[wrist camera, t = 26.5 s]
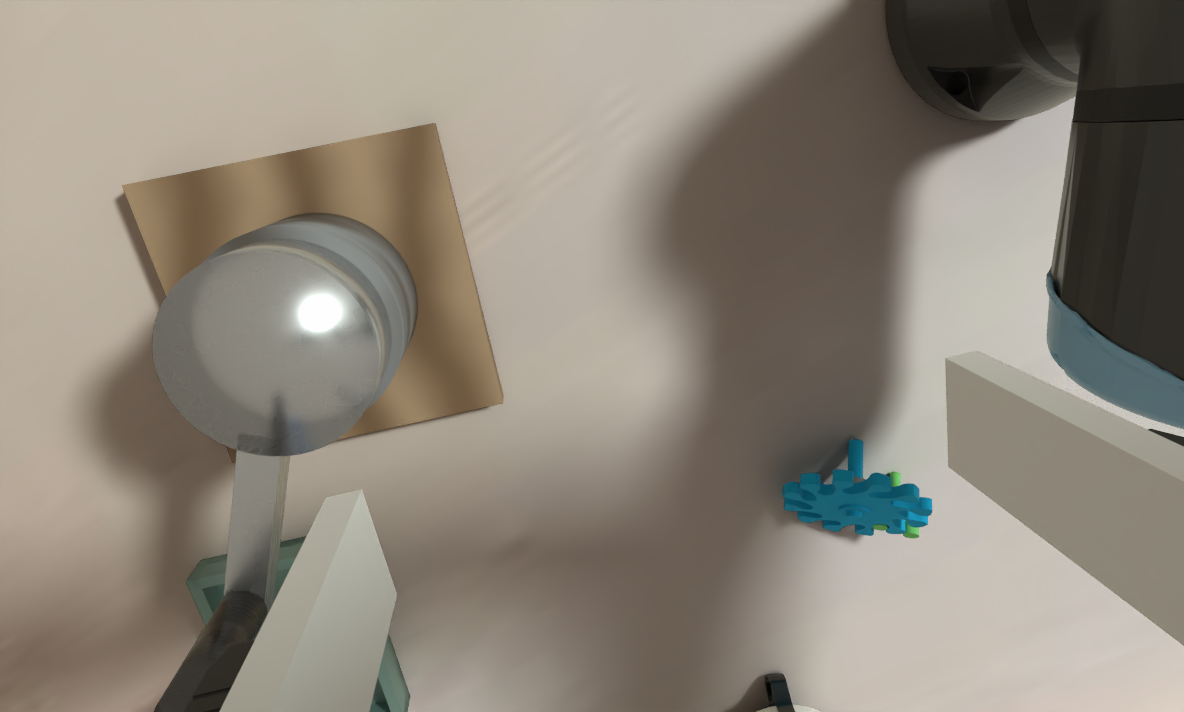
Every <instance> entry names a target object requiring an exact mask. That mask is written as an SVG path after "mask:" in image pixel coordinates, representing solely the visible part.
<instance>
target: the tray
mask: <svg viewBox="0 0 1184 712" xmlns="http://www.w3.org/2000/svg"><path fill="white" fill-rule="evenodd" d="M306 537H307V536H305V537H301V538H297V539H292V540H288V541H283V542H280V551H279V560H278V568H277V577H276V586H275V595H274V601H275V599H276V597H277V595H278V593H279V591H280V589H281V587H282V585H283V583H284V581H285V579H286V577H287V575H288V573H289V571H290V569H291V567H292V565H293V563H294V561H295V559H296V557H297V555H298V553H299V551H300V549H301V547H302V545H303V543H304V541H305V539H306ZM226 565H227V554H226V555H222V556H217V557H213V558H209V559H204V560H201V561H200V562H199V564H198V565H197V567H196V568H195V569H194V571H193V572H192V574H191V575H190V576H189V578H188V579H187V581H186V584H187V586H188V588H189V590H190V593H191V595H192V597H193V599H194V602H195V604H196V606H197V608H198V610H199V613H200V615H201V617H202V619H203V621H204V624H205V626H206V624H207V623H208V621H209V619H210V618H211V616H212V614H213V613H214V611H215V610H216V608H217V606H218V605H219V603H220V601H221V600H222V599H223V598H224V587H225V576H226ZM409 700H410V694H409V691H408V688H407V686H406V683H405V680H404V677H403V674H402V671H401V668H400V666H399V663H398V660H397V657H396V654H395V651H394V648H393V645H392V643H391V640H390V637H389V634H388V636H387V640H386V644H385V648H384V653H383V657H382V661H381V665H380V669H379V674H378V678H377V682H376V686H375V690H374V694H373V699H372V703H371V707H370V711H369V712H408V706H409Z"/></svg>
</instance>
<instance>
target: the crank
mask: <svg viewBox="0 0 1184 712" xmlns="http://www.w3.org/2000/svg"><path fill="white" fill-rule="evenodd" d="M391 344H392V336H391V326H390V321H389V316H388V313H387V311H386V308H385V305H384V303H383V301H382V299H381V297H380V295H379V293H378V292H377V290H376V289H375V287H374V286H373V284H372V283H371V282H370V280H369V279H368V278H367V277H366V276H365V275H364V273H363V272H361V271H360V270H359V269H358V268H357V267H356V266H355V265H354V264H353V263H351V262H350V261H348V260H347V259H345V258H344V257H343V256H341V255H339V254H337V253H335V252H334V251H332V250H330V249H327V248H325V247H322V246H320V245H317V244H314V243H310V242H306V241H302V240H294V239H269V240H262V241H258V242H254V243H250V244H247V245H245V246H242V247H240V248H237V249H235V250H233V251H230V252H228V253H226V254H223V255H221V256H219V257H216V258H214V259H212V260H210V261H207V262H205V263H203V264H201V265H200V266H198V267H196V268H194V269H193V270H191V271H190V272H189V273H187V274H186V275H185V276H184V277H182V278H181V279H180V280H179V281H178V282H177V283H176V284H175V285H174V287H173V288H172V289H171V290H170V291H169V293H168V294H167V296H166V297H165V299H164V300H163V302H162V305H161V307H160V309H159V311H158V313H157V317H156V320H155V324H154V329H153V337H152V352H153V359H154V365H155V369H156V372H157V375H158V378H159V381H160V383H161V385H162V387H163V389H164V391H165V393H166V395H167V396H168V398H169V399H170V401H171V403H172V404H173V405H174V407H175V408H176V409H177V410H178V411H179V413H180V414H181V415H182V416H183V417H184V418H185V419H186V420H187V421H188V422H189V423H190V424H191V425H192V426H194V427H195V428H196V429H198V430H199V431H200V432H202V433H203V434H204V435H206V436H208V437H209V438H211V439H213V440H215V441H216V442H218V443H221V444H223V445H225V446H227V447H230V448H232V449H235V450H237V453H236V464H235V475H234V486H233V498H232V509H231V520H230V531H229V542H228V553H227V565H226V576H225V587H224V598H223V599H222V600H221V601H220V603H219V605H218V606H217V608H216V610H215V611H214V613H213V614H212V616H211V618H210V619H209V621H208V623H207V624H206V626H205V628H204V629H203V631H202V632H201V634H200V636H199V637H198V639H197V641H196V642H195V644H194V646H193V647H192V649H191V650H190V652H189V654H188V655H187V657H186V659H185V660H184V662H183V663H182V665H181V667H180V668H179V670H178V672H177V673H176V675H175V677H174V678H173V680H172V681H171V683H170V685H169V686H168V688H167V690H166V691H165V693H164V695H163V696H162V698H161V699H160V701H159V703H158V704H157V706H156V708H155V710H154V712H184V710H185V708H186V707H187V705H188V703H189V701H192V700H193V694H194V692H195V691H196V689H197V687H198V685H199V683H200V682H201V680H202V678H203V676H204V674H205V673H206V671H207V670H208V669H209V668H210V667H211V666H212V665H213V664H214V663H215V662H216V661H217V660H218V658H219V657H220V656H221V655H222V654H223V653H224V652H225V651H226V650H227V649H228V648H229V647H230V646H232V645H236V644H240V643H245V642H249V641H253V640H255V639H256V637H257V635H258V633H259V631H260V629H261V627H262V625H263V623H264V621H265V619H266V617H267V615H268V613H269V611H270V609H271V607H272V605H273V603H274V595H275V586H276V577H277V568H278V560H279V551H280V542H281V533H282V524H283V515H284V506H285V498H286V489H287V480H288V471H289V462H290V455H297V454H302V453H306V452H310V451H314V450H316V449H319V448H321V447H324V446H326V445H328V444H330V443H331V442H333V441H335V440H337V439H338V438H339V437H341V436H342V435H343V434H345V433H346V432H347V431H348V430H349V429H351V428H352V427H353V426H354V425H355V424H356V423H357V421H358V420H359V419H360V417H361V416H362V415H363V413H364V412H365V410H366V408H367V407H368V405H369V403H370V401H371V399H372V397H373V395H374V393H375V391H376V389H377V387H378V386H379V384H380V382H381V380H382V378H383V376H384V374H385V371H386V368H387V366H388V363H389V358H390V354H391Z"/></svg>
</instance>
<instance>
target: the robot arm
mask: <svg viewBox="0 0 1184 712" xmlns="http://www.w3.org/2000/svg"><path fill="white" fill-rule="evenodd" d="M886 18H887V28H888V35H889V39H890V44H891V47H892V51H893V54H894V56H895V59H896V62H897V64H898V66H899V68H900V70H901V72H902V73H903V75H904V77H905V78H906V80H907V81H908V83H909V84H910V85H911V87H912V88H913V89H914V90H915V91H916V92H917V93H918V95H919V96H920V97H922V98H923V99H924V100H925V101H926V102H928V103H929V104H930V105H932V106H933V107H935V108H936V109H938V110H940V111H942V112H944V113H946V114H949V115H951V116H954V117H958V118H961V119H967V120H975V121H995V120H1013V119H1019V118H1024V117H1028V116H1032V115H1035V114H1038V113H1041V112H1044V111H1046V110H1049V109H1051V108H1053V107H1055V106H1057V105H1059V104H1061V103H1063V102H1065V101H1067V100H1069V99H1071V98H1073V97H1075V96H1076V99H1075V107H1074V115H1073V119H1072V120H1073V121H1072V125H1071V132H1070V140H1069V148H1068V156H1067V163H1066V171H1065V178H1064V185H1063V192H1062V199H1061V206H1060V212H1059V219H1058V226H1057V233H1056V240H1055V247H1054V253H1053V260H1052V266H1051V268H1050V271H1049V272H1048V274H1047V278H1046V287H1047V292H1048V294H1049V296H1050V297H1049V310H1048V323H1047V344H1048V348H1049V351H1050V353H1051V355H1052V357H1053V359H1054V360H1055V361H1056V362H1057V364H1058V365H1059V366H1060V367H1061V368H1062V369H1063V370H1064V371H1065V373H1066V374H1067V375H1068V377H1070V378H1071V379H1072V380H1073V381H1074V382H1076V383H1077V384H1078V385H1080V386H1081V387H1083V388H1084V389H1086V390H1088V391H1089V392H1091V393H1092V394H1094V395H1096V396H1098V397H1100V398H1101V399H1103V400H1105V401H1107V402H1109V403H1111V404H1114V405H1116V406H1118V407H1120V408H1123V409H1125V410H1128V411H1130V412H1133V413H1135V414H1138V415H1141V416H1143V417H1146V418H1149V419H1152V420H1155V421H1158V422H1161V423H1164V424H1167V425H1171V426H1174V427H1177V428H1181V429H1184V0H886ZM945 363H946V399H947V435H948V467H949V468H951V469H952V470H953V471H955V472H956V473H957V474H959V475H960V476H961V477H963V478H964V479H965V480H967V481H968V482H969V483H971V484H972V485H973V486H974V487H976V488H977V489H978V490H980V491H981V492H982V493H984V494H985V495H986V496H988V497H989V498H990V499H992V500H993V501H994V502H996V503H997V504H998V505H999V506H1001V507H1002V508H1003V509H1005V510H1006V511H1007V512H1009V513H1010V514H1011V515H1013V516H1014V517H1015V518H1017V519H1018V520H1019V521H1021V522H1022V523H1023V524H1024V525H1026V526H1027V527H1028V528H1030V529H1031V530H1032V531H1034V532H1035V533H1036V534H1038V535H1039V536H1040V537H1042V538H1043V539H1044V540H1045V541H1047V542H1048V543H1049V544H1051V545H1052V546H1053V547H1055V548H1056V549H1057V550H1059V551H1060V552H1061V553H1063V554H1064V555H1065V556H1067V557H1068V558H1069V559H1070V560H1072V561H1073V562H1074V563H1076V564H1077V565H1078V566H1080V567H1081V568H1082V569H1084V570H1085V571H1086V572H1088V573H1089V574H1090V575H1092V576H1093V577H1094V578H1095V579H1097V580H1098V581H1099V582H1101V583H1102V584H1103V585H1105V586H1106V587H1107V588H1109V589H1110V590H1111V591H1113V592H1114V593H1115V594H1117V595H1118V596H1119V597H1120V598H1122V599H1123V600H1124V601H1126V602H1127V603H1128V604H1130V605H1131V606H1132V607H1134V608H1135V609H1136V610H1138V611H1139V612H1140V613H1142V614H1143V615H1144V616H1145V617H1147V618H1148V619H1149V620H1151V621H1152V622H1153V623H1155V624H1156V625H1157V626H1159V627H1160V628H1161V629H1163V630H1164V631H1165V632H1167V633H1168V634H1169V635H1170V636H1172V637H1173V638H1174V639H1176V640H1177V641H1178V642H1180V643H1181V644H1182V645H1184V437H1181V436H1177V435H1173V434H1169V433H1165V432H1161V431H1157V430H1153V429H1148V430H1147V429H1145V428H1143V427H1140V426H1138V425H1136V424H1134V423H1132V422H1130V421H1128V420H1125V419H1123V418H1121V417H1119V416H1117V415H1115V414H1113V413H1110V412H1108V411H1106V410H1104V409H1102V408H1100V407H1098V406H1095V405H1093V404H1091V403H1089V402H1087V401H1085V400H1083V399H1080V398H1078V397H1076V396H1074V395H1072V394H1070V393H1067V392H1065V391H1063V390H1061V389H1059V388H1057V387H1055V386H1052V385H1050V384H1048V383H1046V382H1044V381H1042V380H1040V379H1037V378H1035V377H1033V376H1031V375H1029V374H1027V373H1025V372H1022V371H1020V370H1018V369H1016V368H1014V367H1012V366H1010V365H1007V364H1005V363H1003V362H1001V361H999V360H997V359H995V358H992V357H990V356H988V355H986V354H984V353H982V352H979V351H975V352H970V353H966V354H961V355H957V356H953V357H948V358H945ZM396 598H397V593H396V590H395V587H394V584H393V581H392V578H391V575H390V572H389V569H388V566H387V563H386V560H385V557H384V554H383V551H382V548H381V545H380V542H379V539H378V536H377V533H376V530H375V527H374V524H373V521H372V519H371V516H370V513H369V510H368V507H367V504H366V501H365V498H364V495H363V492H362V489H361V490H356V491H352V492H347V493H343V494H338V495H334V496H329V497H326V498H325V500H324V502H323V504H322V506H321V508H320V510H319V512H318V514H317V516H316V518H315V520H314V522H313V524H312V527H311V529H310V531H309V533H308V535H307V537H306V539H305V541H304V543H303V545H302V547H301V549H300V551H299V553H298V555H297V557H296V559H295V561H294V563H293V565H292V567H291V569H290V571H289V573H288V575H287V577H286V579H285V581H284V583H283V585H282V587H281V589H280V591H279V593H278V595H277V597H276V599H275V601H274V603H273V605H272V607H271V609H270V611H269V613H268V615H267V617H266V619H265V621H264V623H263V625H262V627H261V629H260V631H259V633H258V635H257V637H256V639H255V640H253V641H249V642H245V643H240V644H236V645H232V646H230V647H229V648H228V649H227V650H226V651H225V652H224V653H223V654H222V655H221V656H220V657H219V658H218V660H217V661H216V662H215V663H214V664H213V665H212V666H211V667H210V668H209V669H208V670H207V671H206V673H205V674H204V676H203V678H202V680H201V682H200V683H199V685H198V687H197V689H196V691H195V692H194V694H193V700H192V701H189V703H188V705H187V707H186V708H185V710H184V712H369V711H370V707H371V703H372V699H373V694H374V690H375V686H376V682H377V678H378V674H379V669H380V665H381V661H382V657H383V653H384V648H385V644H386V640H387V636H388V632H389V627H390V623H391V619H392V615H393V611H394V607H395V602H396Z"/></svg>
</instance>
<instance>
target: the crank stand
mask: <svg viewBox="0 0 1184 712" xmlns="http://www.w3.org/2000/svg"><path fill="white" fill-rule="evenodd" d="M122 187H123V190H124V192H125V195H126V197H127V200H128V202H129V205H130V207H131V210H132V212H133V215H134V217H135V220H136V222H137V225H138V227H139V230H140V232H141V235H142V237H143V240H144V242H145V245H146V247H147V250H148V252H149V255H150V257H151V260H152V262H153V265H154V267H155V270H156V272H157V275H158V277H159V280H160V282H161V285H162V287H163V290H164V292H165V295H166V296H167V294H168V293H169V291H170V290H171V289H172V288H173V287H174V285H175V284H176V283H177V282H178V281H179V280H180V279H181V278H182V277H184V276H185V275H186V274H187V273H189V272H190V271H191V270H193V269H194V268H196V267H198V266H200V265H201V264H203V263H205V262H207V261H210V260H212V259H214V258H216V257H219V256H221V255H223V254H226V253H228V252H230V251H233V250H235V249H237V248H240V247H242V246H245V245H247V244H250V243H254V242H258V241H262V240H269V239H294V240H302V241H306V242H310V243H314V244H317V245H320V246H322V247H325V248H327V249H330V250H332V251H334V252H335V253H337V254H339V255H341V256H343V257H344V258H345V259H347V260H348V261H350V262H351V263H353V264H354V265H355V266H356V267H357V268H358V269H359V270H360V271H361V272H363V273H364V275H365V276H366V277H367V278H368V279H369V280H370V282H371V283H372V284H373V286H374V287H375V289H376V290H377V292H378V293H379V295H380V297H381V299H382V301H383V303H384V305H385V308H386V311H387V313H388V316H389V321H390V326H391V336H392V344H391V354H390V358H389V363H388V366H387V368H386V371H385V374H384V376H383V378H382V380H381V382H380V384H379V386H378V387H377V389H376V391H375V393H374V395H373V397H372V399H371V401H370V403H369V405H368V407H367V408H366V410H365V412H364V413H363V415H362V416H361V417H360V419H359V420H358V421H357V423H356V424H355V425H354V426H353V427H352V428H351V429H349V430H348V431H347V432H346V433H345V434H343V435H342V436H341V437H339V438H338V439H337V440H339V439H343V438H348V437H352V436H357V435H361V434H366V433H370V432H375V431H379V430H384V429H389V428H393V427H398V426H402V425H407V424H411V423H416V422H420V421H425V420H429V419H434V418H438V417H443V416H447V415H452V414H456V413H461V412H466V411H470V410H475V409H479V408H484V407H488V406H493V405H497V404H502V403H503V392H502V388H501V384H500V380H499V376H498V372H497V368H496V364H495V360H494V356H493V352H492V348H491V344H490V340H489V336H488V332H487V328H486V324H485V320H484V316H483V312H482V308H481V304H480V300H479V296H478V292H477V288H476V284H475V280H474V276H473V272H472V268H471V264H470V260H469V256H468V252H467V248H466V244H465V240H464V236H463V232H462V228H461V224H460V220H459V216H458V212H457V208H456V204H455V200H454V196H453V192H452V188H451V184H450V180H449V176H448V172H447V168H446V164H445V160H444V156H443V152H442V148H441V144H440V140H439V136H438V132H437V128H436V124H434V123H432V124H427V125H422V126H417V127H412V128H407V129H402V130H397V131H392V132H387V133H382V134H377V135H372V136H367V137H362V138H357V139H352V140H347V141H342V142H337V143H332V144H327V145H322V146H317V147H312V148H307V149H302V150H297V151H292V152H287V153H282V154H277V155H272V156H267V157H262V158H257V159H252V160H247V161H242V162H237V163H232V164H227V165H222V166H217V167H212V168H207V169H202V170H197V171H192V172H187V173H182V174H177V175H172V176H167V177H162V178H157V179H152V180H147V181H142V182H137V183H132V184H127V185H122ZM226 448H227V450H228V453H229V455H230V458H231V460H232V463H235V462H236V453H237V450H235V449H232V448H230V447H227V446H226Z"/></svg>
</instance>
